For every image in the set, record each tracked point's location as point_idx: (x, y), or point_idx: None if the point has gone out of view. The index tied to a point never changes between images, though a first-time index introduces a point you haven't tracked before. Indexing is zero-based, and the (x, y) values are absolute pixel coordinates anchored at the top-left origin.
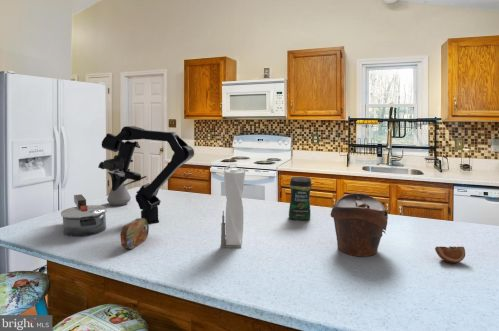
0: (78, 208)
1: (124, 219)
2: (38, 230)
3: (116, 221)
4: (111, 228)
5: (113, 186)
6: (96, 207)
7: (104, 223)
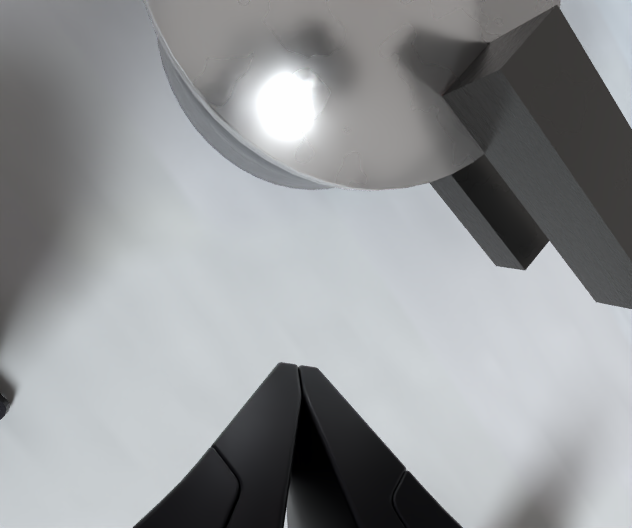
0: (476, 20)
1: (193, 369)
2: (569, 7)
3: (223, 301)
4: (138, 120)
5: (307, 407)
6: (329, 91)
7: (160, 42)
